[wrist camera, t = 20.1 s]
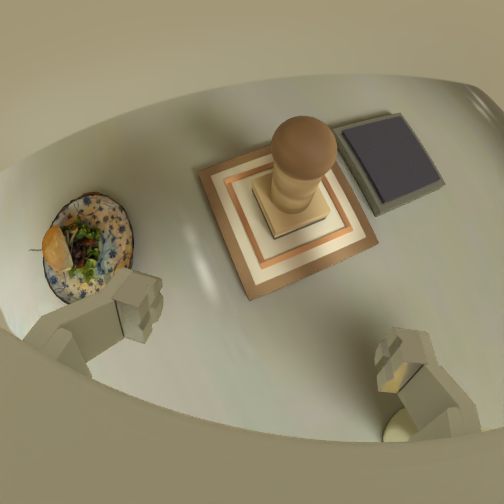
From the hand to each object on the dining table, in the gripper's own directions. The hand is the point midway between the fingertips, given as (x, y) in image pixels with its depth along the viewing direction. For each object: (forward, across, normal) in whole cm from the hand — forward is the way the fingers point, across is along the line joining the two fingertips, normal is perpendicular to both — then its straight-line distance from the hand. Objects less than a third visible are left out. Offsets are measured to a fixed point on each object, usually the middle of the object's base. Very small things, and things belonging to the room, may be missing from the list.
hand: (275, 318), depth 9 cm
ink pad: (+24, -10, -2) cm, 26 cm away
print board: (+18, 0, +4) cm, 19 cm away
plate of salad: (+13, +18, +10) cm, 25 cm away
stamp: (+17, 0, +3) cm, 18 cm away
